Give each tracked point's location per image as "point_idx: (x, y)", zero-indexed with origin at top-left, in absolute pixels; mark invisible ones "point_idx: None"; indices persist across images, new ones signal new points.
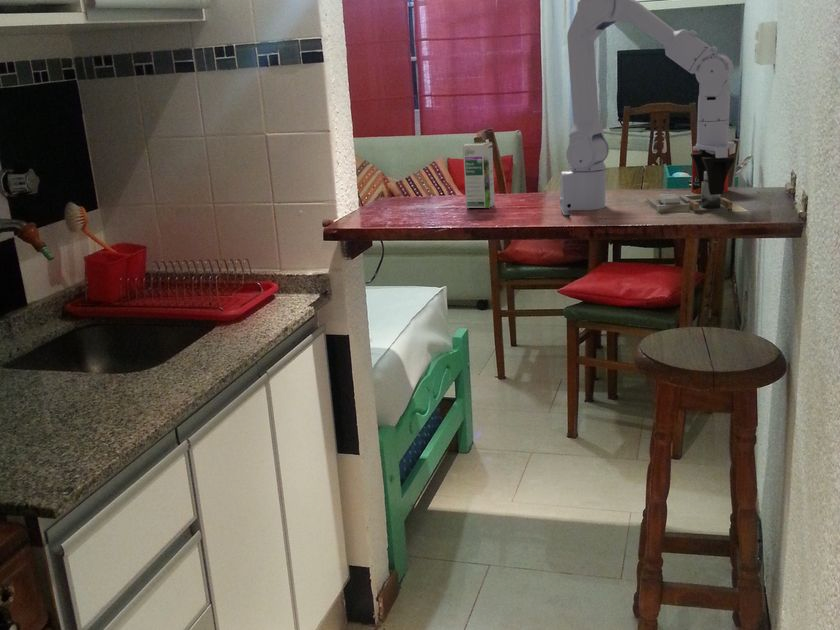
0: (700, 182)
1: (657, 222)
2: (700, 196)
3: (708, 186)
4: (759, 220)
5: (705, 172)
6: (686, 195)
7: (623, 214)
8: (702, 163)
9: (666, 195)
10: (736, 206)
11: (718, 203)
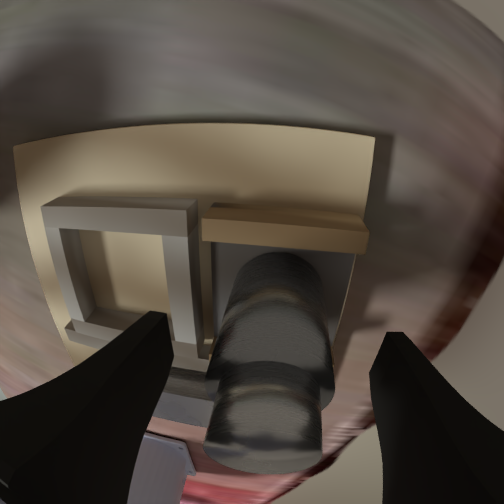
0: (162, 383)
1: (330, 412)
2: (71, 268)
3: (378, 412)
4: (461, 140)
5: (281, 471)
6: (73, 314)
7: (194, 429)
8: (117, 473)
9: (168, 410)
10: (226, 144)
11: (318, 283)
